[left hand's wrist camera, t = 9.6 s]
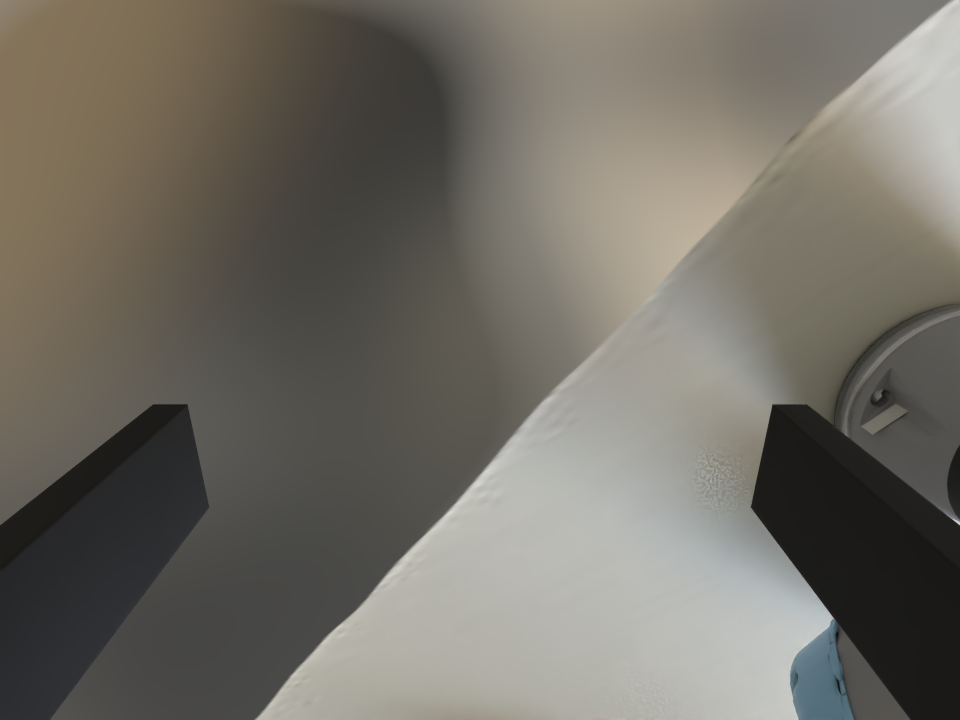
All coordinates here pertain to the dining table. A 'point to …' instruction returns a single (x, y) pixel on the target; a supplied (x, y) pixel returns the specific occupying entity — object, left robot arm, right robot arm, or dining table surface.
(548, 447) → the dining table surface
